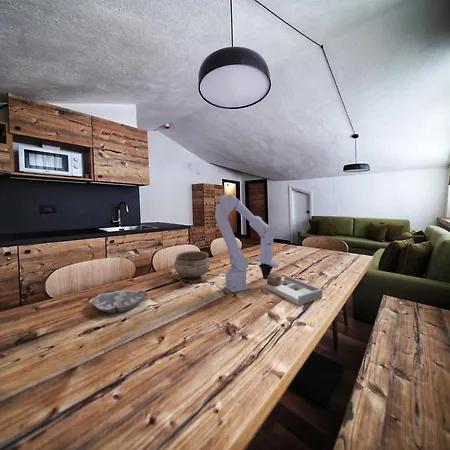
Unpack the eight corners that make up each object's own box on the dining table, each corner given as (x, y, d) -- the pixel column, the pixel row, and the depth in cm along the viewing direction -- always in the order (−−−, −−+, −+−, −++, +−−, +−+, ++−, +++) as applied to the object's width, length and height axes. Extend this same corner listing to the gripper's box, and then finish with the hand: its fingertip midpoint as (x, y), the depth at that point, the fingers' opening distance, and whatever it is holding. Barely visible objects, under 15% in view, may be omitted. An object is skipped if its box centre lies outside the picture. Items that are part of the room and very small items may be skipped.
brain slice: (84, 320, 75) (83, 312, 75) (98, 299, 91) (98, 292, 91) (144, 313, 80) (144, 305, 80) (148, 294, 96) (147, 287, 96)
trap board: (299, 305, 86) (300, 296, 86) (264, 287, 104) (264, 280, 103) (321, 297, 93) (322, 289, 93) (285, 282, 111) (285, 275, 110)
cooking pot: (220, 279, 114) (220, 256, 113) (187, 288, 102) (187, 262, 101) (196, 268, 134) (195, 248, 132) (166, 274, 122) (166, 252, 121)
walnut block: (273, 286, 100) (274, 278, 99) (267, 283, 103) (267, 275, 103) (280, 284, 102) (281, 276, 101) (274, 281, 106) (274, 273, 105)
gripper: (283, 253, 102) (282, 281, 103) (262, 248, 114) (262, 273, 116) (272, 255, 98) (271, 284, 100) (252, 249, 111) (251, 275, 112)
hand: (265, 278), depth 107 cm, fingers closed
